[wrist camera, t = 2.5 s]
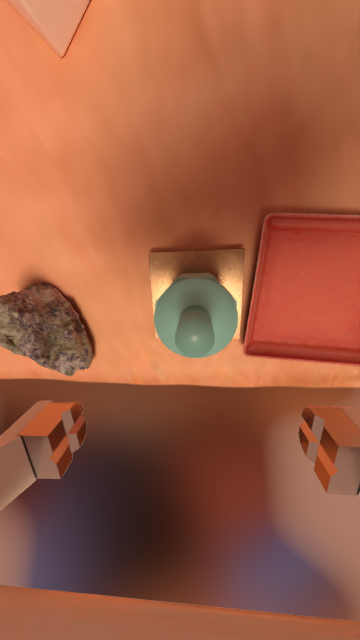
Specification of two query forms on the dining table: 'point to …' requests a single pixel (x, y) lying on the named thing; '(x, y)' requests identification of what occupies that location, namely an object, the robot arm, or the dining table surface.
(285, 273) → the plant saucer
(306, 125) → the dining table surface
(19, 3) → the medicine bottle
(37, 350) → the mineral rock
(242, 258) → the post
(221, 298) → the cap
